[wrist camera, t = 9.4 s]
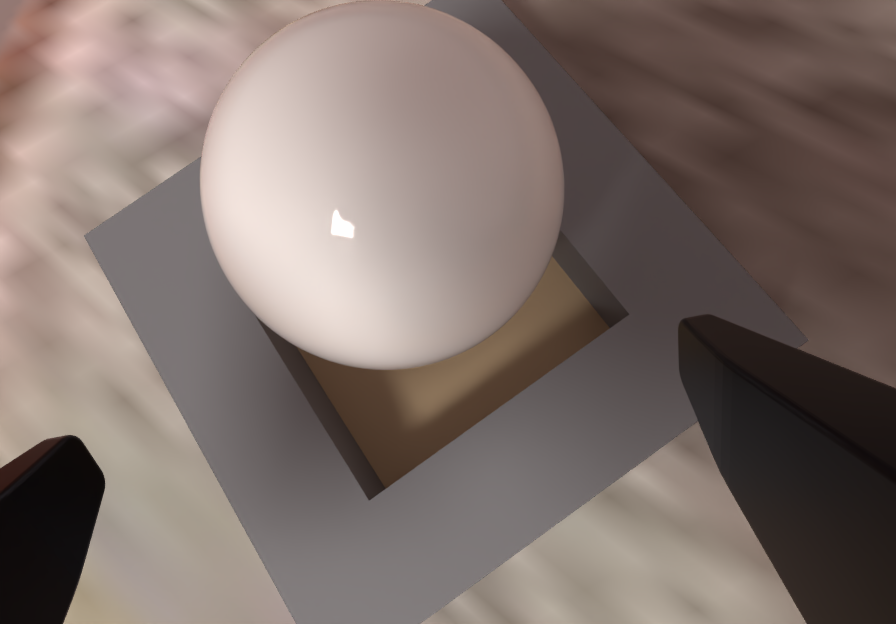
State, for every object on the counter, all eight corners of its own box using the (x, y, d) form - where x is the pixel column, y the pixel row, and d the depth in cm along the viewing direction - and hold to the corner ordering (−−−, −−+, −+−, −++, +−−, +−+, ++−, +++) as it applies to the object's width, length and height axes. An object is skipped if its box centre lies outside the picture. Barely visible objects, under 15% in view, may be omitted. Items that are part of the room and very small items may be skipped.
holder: (363, 650, 17) (331, 688, 14) (144, 267, 21) (83, 235, 18) (761, 360, 18) (808, 340, 15) (481, 37, 21) (474, -29, 19)
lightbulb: (584, 264, 19) (670, -3, 8) (478, 448, 18) (413, 429, 7) (408, 173, 20) (280, -156, 9) (301, 341, 19) (22, 186, 8)
